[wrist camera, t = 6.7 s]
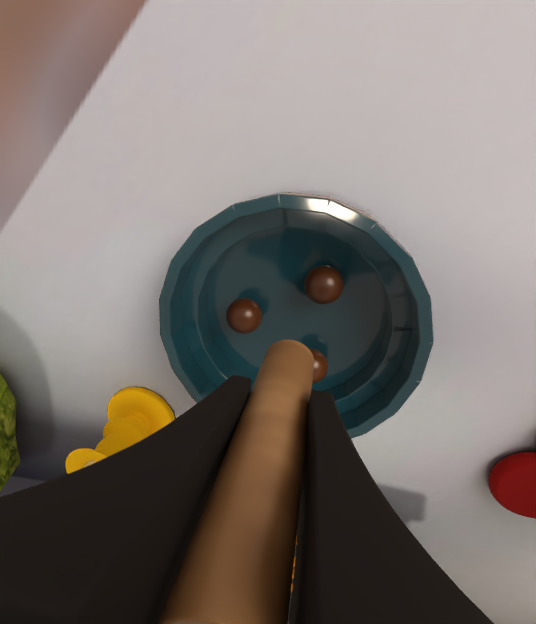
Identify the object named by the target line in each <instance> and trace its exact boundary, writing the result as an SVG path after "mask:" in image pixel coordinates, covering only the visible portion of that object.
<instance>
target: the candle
mask: <svg viewBox="0 0 536 624" xmlns="http://www.w3.org/2000/svg"><path fill="white" fill-rule="evenodd" d="M107 412H108V418H109V422H108V423H107V424H106V425H105V427H104V429H103V438H104V439H103V440H101V441H100V442H99V443H98V444H97V446H96V448H95V450H93V449H89V448H80V449H77V450H74V451H73V452H71V453H70V454H69V455H68V457H67V459H66V464H65V466H66V471H67V473H68V474H69V473H72V472H74V471H77V470H79V469H81V468H84V467H86V466H89V465H91V464H93V463H96V462H98V461H100V460H102V459H104V458H106V457H108V456H110V455H113V454H115V453H117V452H119V451H121V450H123V449H125V448H127V447H129V446H131V445H133V444H135V443H137V442H139V441H141V440H143V439H144V438H146V437H148V436H150V435H151V434H153V433H155V432H156V431H158V430H160V429H161V428H163V427H164V426H166V425H168V424H169V423H170V422H172V421H173V420H175V417H174V413H173V411H172V410H171V408H170V406H169V405H168V404H167V403H166V402H165V400H164V399H163V398H161V397H160V396H159V395H157V394H156V393H154V392H152V391H150V390H147V389H144V388H139V387H128V388H125V389H122V390H120V391H119V392H118V393H116V394H115V395H114V396H113V397H112V398H111V400H110V402H109V404H108V409H107Z"/></svg>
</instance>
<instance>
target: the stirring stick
mask: <svg viewBox="0 0 536 624" xmlns="http://www.w3.org/2000/svg"><path fill="white" fill-rule="evenodd" d="M313 372H314V358H313V355H312V353H311V351H310V350H309V349H308V348H307V347H306V346H305V345H304V344H302V343H300V342H298V341H295V340H281V341H278V342H275V343H274V344H272V345H271V346H270V347H269V348H268V350H267V352H266V354H265V356H264V359H263V361H262V364H261V366H260V369H259V371H258V374H257V376H256V379H255V381H254V384H253V386H252V389H251V391H250V394H249V397H248V399H247V402H246V404H245V407H244V409H243V412H242V414H241V416H240V419H239V421H238V424H237V426H236V429H235V431H234V434H233V436H232V439H231V441H230V444H229V446H228V449H227V451H226V454H225V456H224V459H223V461H222V464H221V466H220V469H219V471H218V473H217V476H216V478H215V481H214V483H213V486H212V488H211V491H210V493H209V496H208V498H207V501H206V503H205V506H204V508H203V511H202V513H201V516H200V518H199V521H198V523H197V526H196V528H195V531H194V533H193V536H192V538H191V541H190V543H189V546H188V548H187V551H186V553H185V556H184V558H183V561H182V563H181V566H180V568H179V571H178V573H177V576H176V578H175V581H174V583H173V586H172V588H171V591H170V593H169V596H168V598H167V600H166V603H165V605H164V608H163V610H162V613H161V615H160V618H159V620H158V623H157V624H287V622H288V612H289V602H290V593H291V583H292V574H293V564H294V553H295V545H296V535H297V526H298V516H299V507H300V497H301V487H302V478H303V468H304V459H305V449H306V427H307V417H308V407H309V400H310V395H311V390H312V382H313Z"/></svg>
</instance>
